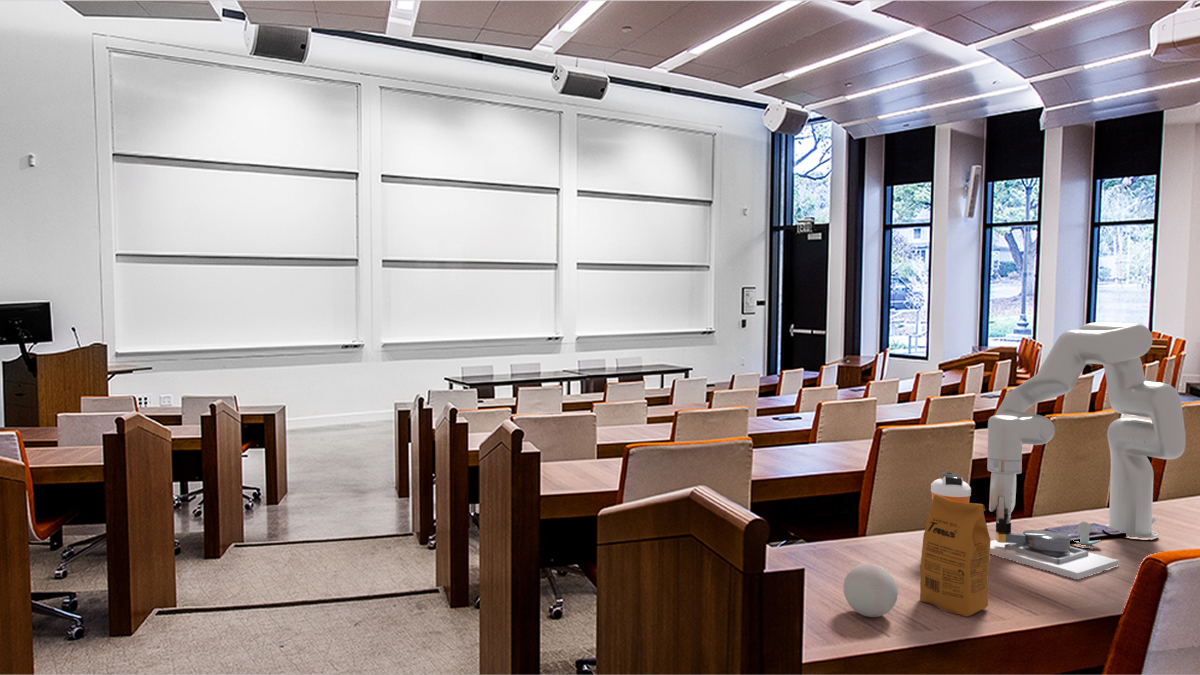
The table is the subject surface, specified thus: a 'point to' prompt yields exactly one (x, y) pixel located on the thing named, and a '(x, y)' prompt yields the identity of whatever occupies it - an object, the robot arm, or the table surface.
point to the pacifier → (1085, 535)
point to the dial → (1039, 542)
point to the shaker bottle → (951, 488)
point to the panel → (1055, 560)
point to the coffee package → (955, 557)
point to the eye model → (870, 590)
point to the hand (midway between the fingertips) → (1003, 538)
